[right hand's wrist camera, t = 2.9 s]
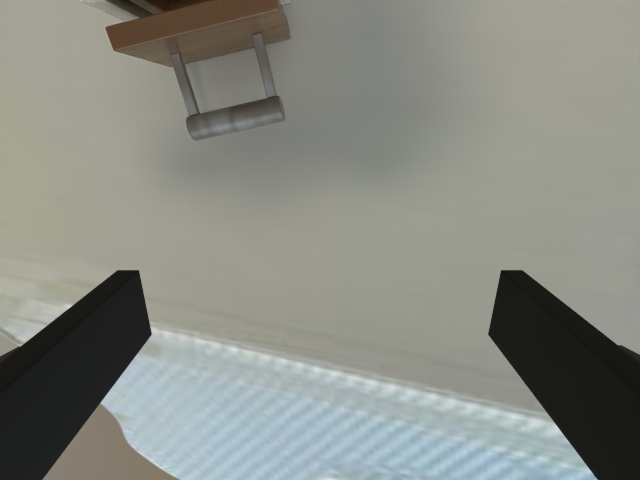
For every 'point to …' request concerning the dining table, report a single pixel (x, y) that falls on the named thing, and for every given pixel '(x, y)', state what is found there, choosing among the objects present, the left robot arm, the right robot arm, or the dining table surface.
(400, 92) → the dining table surface
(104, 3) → the cabinet
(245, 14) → the drawer
